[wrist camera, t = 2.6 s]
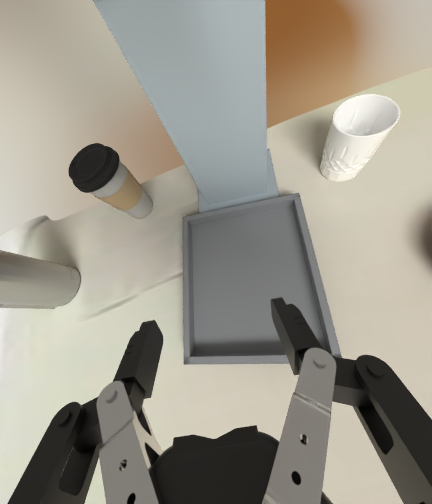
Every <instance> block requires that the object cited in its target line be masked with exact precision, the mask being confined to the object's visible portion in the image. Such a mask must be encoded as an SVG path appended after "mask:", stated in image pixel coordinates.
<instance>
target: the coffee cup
mask: <svg viewBox="0 0 432 504" xmlns="http://www.w3.org/2000/svg"><path fill="white" fill-rule="evenodd" d="M69 176H70V178H71V179H72V180H73V183H74V185H75V186H76V187H77V188H78V189H79V190H80V191H82V192H86V193H89V192H90V193H91V194H93V195H94V196H95V197H97V198H99V199H101V200H102V201H104V202H106V203H108V204H110V205H112V206H113V207H115V208H117V209H119V210H122V211H124V212H126V213H128V214H130V215H131V216H133V217H135V218H144V217H146V216H147V215H148V214H149V213H150V212H151V210H152V206H153V203H152V200H151V199H150V198H149V196H148V195H147V194H146V193H145V191H144V190H143V189H142V187H141V185H140V184H139V183H138V182H137V180H136V179H135V178H134V177H133V175H132V174H131V173H130V172H129V170H128V169H127V168H126V167H125V166H124V165H123V164H122V163H121V162H120V160H119V155H118V153H117V152H116V151H114V150H113V149H112V148H110V147H107V146H104V145H102V144H99V143H95V144H91V145H88V146H86V147H85V148H83V149H82V150H81V151H79V152H78V154H77V155H76V156H75V157H74V158H73V160H72V162H71V164H70V166H69Z"/></svg>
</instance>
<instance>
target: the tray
mask: <svg viewBox="0 0 432 504" xmlns="http://www.w3.org/2000/svg"><path fill="white" fill-rule="evenodd" d="M279 297H282V298H283V299H284V301H285V303H286V305H287V304H293V305H295V306H296V307H297V308H298V309H299V310H300V311H301V313H302V315H303V317H304V318H305V320H306V321H307V323H308V325H309V326H310V328H311V330H312V331H313V333H314V335H315V336H316V338H317V340H318V341H319V343H320V345H321V346H322V348H323V349H324V350H325V351H327V352H328V353H329V354H331V355H333V356H335V357H339V358H342V356H341V352H340V349H339V345H338V341H337V337H336V333H335V329H334V325H333V322H332V318H331V314H330V310H329V306H328V302H327V299H326V295H325V291H324V287H323V283H322V279H321V275H320V272H319V268H318V264H317V260H316V256H315V252H314V249H313V245H312V241H311V237H310V233H309V229H308V225H307V222H306V218H305V214H304V210H303V206H302V202H301V199H300V195H299V193H296V194H291V195H286V196H281V197H276V198H272V199H267V200H262V201H257V202H252V203H248V204H243V205H238V206H233V207H228V208H223V209H219V210H214V211H209V212H204V213H199V214H195V215H190V216H185V217H183V321H184V364H288V363H289V361H288V358H287V356H286V353H285V351H284V348H283V346H282V343H281V341H280V338H279V336H278V333H277V331H276V328H275V325H274V323H273V319H272V314H271V299H274V298H279Z"/></svg>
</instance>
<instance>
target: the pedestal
mask: <svg viewBox="0 0 432 504" xmlns="http://www.w3.org/2000/svg"><path fill="white" fill-rule="evenodd" d="M93 1H94V3H95V5H96V7H97V8H98V10H99V12H100V14H101V15H102V17H103V19H104V21H105V22H106V24H107V26H108V28H109V30H110V31H111V33H112V35H113V37H114V38H115V40H116V42H117V44H118V46H119V47H120V49H121V51H122V53H123V54H124V56H125V58H126V60H127V62H128V63H129V65H130V67H131V69H132V71H133V72H134V74H135V76H136V78H137V80H138V81H139V83H140V85H141V87H142V88H143V90H144V92H145V94H146V95H147V97H148V99H149V101H150V102H151V104H152V106H153V108H154V110H155V111H156V113H157V115H158V117H159V119H160V120H161V122H162V124H163V126H164V128H165V129H166V131H167V133H168V135H169V136H170V138H171V140H172V141H173V144H174V145H175V147H176V149H177V151H178V152H179V154H180V156H181V158H182V160H183V161H184V163H185V165H186V167H187V169H188V170H189V172H190V174H191V176H192V177H193V179H194V181H195V183H196V185H197V186H198V195H199V213H204V212H209V211H214V210H219V209H223V208H228V207H233V206H238V205H243V204H248V203H252V202H257V201H262V200H267V199H272V198H276V197H280V196H279V192H278V187H277V183H276V178H275V173H274V169H273V164H272V159H271V155H270V150H269V149H267V128H266V48H265V0H93Z"/></svg>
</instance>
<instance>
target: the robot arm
mask: <svg viewBox="0 0 432 504" xmlns="http://www.w3.org/2000/svg"><path fill="white" fill-rule="evenodd" d="M79 285H80V275H79V272H78V270H77V269H75V268H73V267H70V266H65V265H61V264H57V263H53V262H48V261H44V260H40V259H36V258H31V257H27V256H23V255H18V254H14V253H10V252H6V251H1V250H0V308H34V309H54V308H55V307H57V306H62V305H65V304H67V303H68V302H70V301H71V300H72V299H73V297H74V296H75V294H76V293H77V291H78V288H79ZM271 314H272V319H273V323H274V325H275V328H276V331H277V333H278V336H279V338H280V341H281V343H282V346H283V348H284V351H285V353H286V356H287V358H288V361H289V363H290V366H291V368H292V371H293V373H294V375H299V378H298V382H297V385H296V389H295V392H294V393H293V395H292V398H291V402H290V405H289V409H288V413H287V416H286V420H285V424H284V428H283V431H282V435H281V439H280V442H279V441H278V440H276V439H275V438H273V437H272V436H270V435H268V434H265V433H263V432H258V430H257V425H255V426H249V427H242V428H236V429H234V430H232V431H230V432H228V433H226V434H224V435H222V436H221V437H219V438H217V439H210V438H206V437H202V436H197V435H189V436H182V437H175V438H174V440H173V445H172V446H171V447H169V448H168V449H167V450H165V451H164V452H163V451H162V449H161V447H160V445H159V444H158V442H157V440H156V438H155V436H154V434H153V431H152V429H151V426H150V423H149V421H148V418H147V416H146V413H145V411H144V408H143V406H142V404H143V400H144V399H146V398H151V395H152V390H153V386H154V381H155V377H156V372H157V368H158V363H159V359H160V354H161V350H162V345H163V335H162V333H161V331H160V329H159V327H158V325H157V323H156V321H155V320H152V321H147V322H143V323H142V324H141V327H140V330H139V331H137V332H135V333H134V335H133V336H132V337H131V339H130V341H129V343H128V346H127V348H126V351H125V353H124V355H123V358H122V360H121V363H120V365H119V368H118V370H117V373H116V375H115V378H114V380H113V382H112V383H110V384H109V385H107V386H106V387H105V388H104V389H103V391H102V392H101V393H100V395H99V397H97V398H95V399H93V400H91V401H89V402H87V403H85V404H83V405H80V404H79V403H78V402H72V403H69V404H67V405H66V406H64V407H63V408H62V409H61V410H60V411H59V412H58V413H57V414H56V415H55V416H54V418H53V419H52V421H51V423H50V425H49V427H48V429H47V430H46V432H45V434H44V436H43V438H42V440H41V442H40V444H39V445H38V447H37V449H36V451H35V453H34V455H33V457H32V459H31V460H30V462H29V464H28V466H27V468H26V470H25V472H24V474H23V475H22V477H21V479H20V481H19V483H18V485H17V487H16V489H15V491H14V492H13V494H12V496H11V498H10V500H9V502H8V504H84V503H85V500H86V496H87V493H88V490H89V487H90V484H91V480H92V477H93V474H94V471H95V468H96V464H97V461H98V458H100V465H101V471H102V478H103V484H104V491H105V497H106V504H333V503H332V502H331V501H330V500H329V499H328V497H327V496H326V495H325V494H324V493H323V492H322V487H323V478H324V470H325V462H326V454H327V446H328V437H329V429H330V421H331V407H332V401H333V402H338V403H342V404H347V405H351V406H353V408H354V410H355V412H356V413H357V415H358V417H359V419H360V421H361V423H362V425H363V427H364V429H365V431H366V433H367V434H368V436H369V438H370V440H371V442H372V444H373V446H374V448H375V450H376V452H377V454H378V455H379V457H380V459H381V461H382V463H383V465H384V467H385V469H386V471H387V473H388V475H389V476H390V478H391V480H392V482H393V484H394V486H395V488H396V490H397V492H398V494H399V496H400V497H401V499H402V501H403V503H404V504H432V419H431V418H430V417H429V416H428V414H427V413H426V412H425V411H424V409H423V408H422V407H421V405H420V404H419V403H418V402H417V400H416V399H415V398H414V397H413V395H412V394H411V393H410V392H409V390H408V389H407V388H406V387H405V385H404V384H403V383H402V381H401V380H400V379H399V378H398V376H397V375H396V374H395V373H394V371H393V370H392V369H391V368H390V367H389V365H387V364H386V363H385V362H384V361H382V360H381V359H379V358H377V357H374V356H371V355H362V356H359V357H358V358H357V360H350V359H344V358H339V357H335V356H333V355H331V354H329V353H328V352H327V351H325V350H324V349H323V348H322V346H321V345H320V343H319V341H318V340H317V338H316V336H315V335H314V333H313V331H312V330H311V328H310V326H309V325H308V323H307V321H306V320H305V318H304V317H303V315H302V313H301V311H300V310H299V309H298V308H297V307H296V306H295V305H293V304H287V305H286V303H285V301H284V299H283V298H282V297H279V298H274V299H271ZM102 445H103V446H102ZM71 450H72V451H71ZM70 452H71V453H70ZM68 457H69V458H68ZM66 462H67V463H66ZM65 464H66V465H65ZM64 467H65V468H64ZM63 469H64V470H63ZM61 474H62V475H61Z"/></svg>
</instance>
